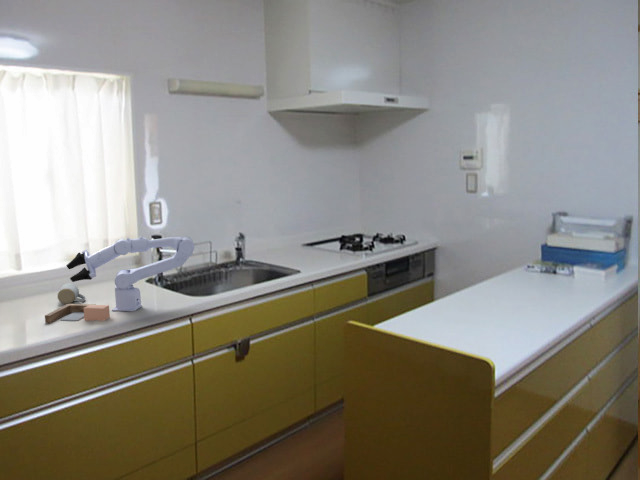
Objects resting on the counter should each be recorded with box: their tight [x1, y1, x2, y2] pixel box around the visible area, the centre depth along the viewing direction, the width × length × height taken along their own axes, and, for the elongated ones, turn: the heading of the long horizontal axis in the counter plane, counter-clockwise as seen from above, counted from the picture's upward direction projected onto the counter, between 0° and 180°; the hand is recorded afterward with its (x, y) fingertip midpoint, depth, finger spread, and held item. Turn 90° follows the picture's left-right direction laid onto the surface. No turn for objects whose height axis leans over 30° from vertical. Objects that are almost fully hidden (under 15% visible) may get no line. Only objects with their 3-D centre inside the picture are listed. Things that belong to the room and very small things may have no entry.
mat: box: [60, 312, 84, 322], centre depth 217 cm, size 7×10×1 cm
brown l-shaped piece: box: [44, 303, 97, 324], centre depth 217 cm, size 12×16×3 cm
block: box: [83, 304, 111, 322], centre depth 215 cm, size 8×4×5 cm, turn 84°
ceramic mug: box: [57, 282, 87, 305], centre depth 238 cm, size 11×8×8 cm
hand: (69, 273), depth 220 cm, fingers open, 7 cm apart
